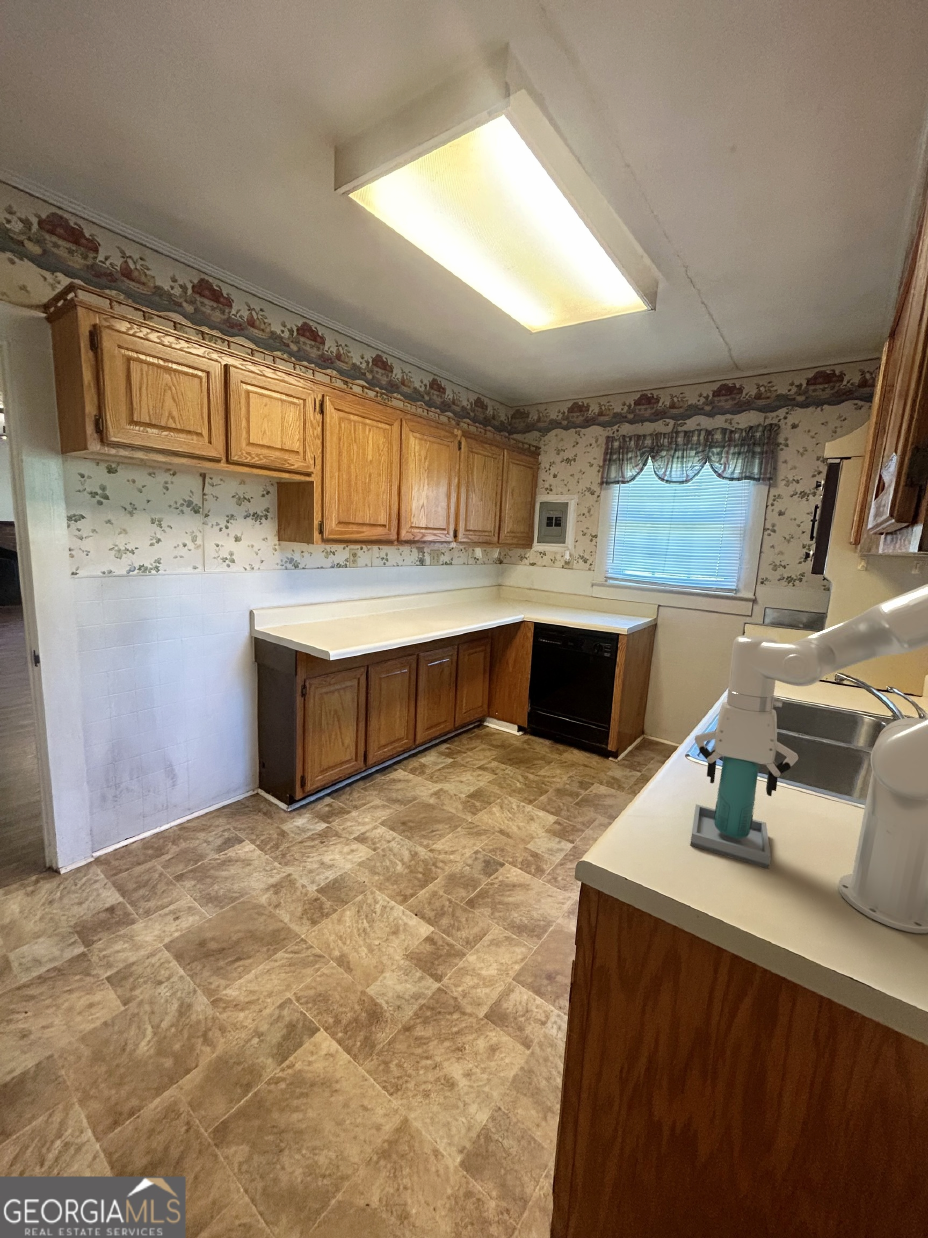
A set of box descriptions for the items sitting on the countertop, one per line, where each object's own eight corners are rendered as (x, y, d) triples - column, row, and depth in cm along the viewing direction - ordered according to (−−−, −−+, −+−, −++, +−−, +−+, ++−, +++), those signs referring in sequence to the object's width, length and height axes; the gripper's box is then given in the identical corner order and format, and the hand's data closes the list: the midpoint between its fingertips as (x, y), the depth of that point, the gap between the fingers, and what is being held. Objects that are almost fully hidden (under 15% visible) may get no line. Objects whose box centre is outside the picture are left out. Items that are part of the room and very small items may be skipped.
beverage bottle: (754, 848, 95) (770, 748, 92) (716, 842, 96) (731, 743, 93) (742, 830, 101) (757, 736, 98) (707, 824, 102) (720, 731, 99)
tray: (764, 834, 101) (766, 822, 101) (768, 869, 90) (770, 856, 90) (694, 815, 107) (695, 804, 107) (690, 845, 96) (691, 833, 96)
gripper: (801, 704, 94) (790, 790, 96) (700, 689, 102) (692, 769, 104) (807, 714, 87) (795, 807, 89) (698, 698, 95) (689, 783, 97)
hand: (739, 786), depth 97 cm, fingers open, 9 cm apart
